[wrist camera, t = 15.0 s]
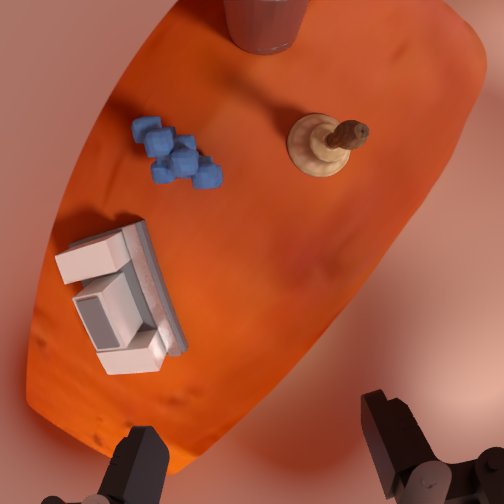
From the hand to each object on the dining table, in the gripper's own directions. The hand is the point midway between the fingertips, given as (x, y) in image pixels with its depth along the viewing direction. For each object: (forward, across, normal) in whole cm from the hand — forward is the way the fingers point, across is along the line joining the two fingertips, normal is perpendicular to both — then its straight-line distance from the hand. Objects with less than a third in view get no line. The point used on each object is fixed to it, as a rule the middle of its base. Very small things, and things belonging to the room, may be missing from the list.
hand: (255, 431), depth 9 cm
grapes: (+30, +6, -12) cm, 33 cm away
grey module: (+29, +21, +4) cm, 36 cm away
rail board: (+30, +20, +4) cm, 36 cm away
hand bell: (+30, -11, -10) cm, 34 cm away
